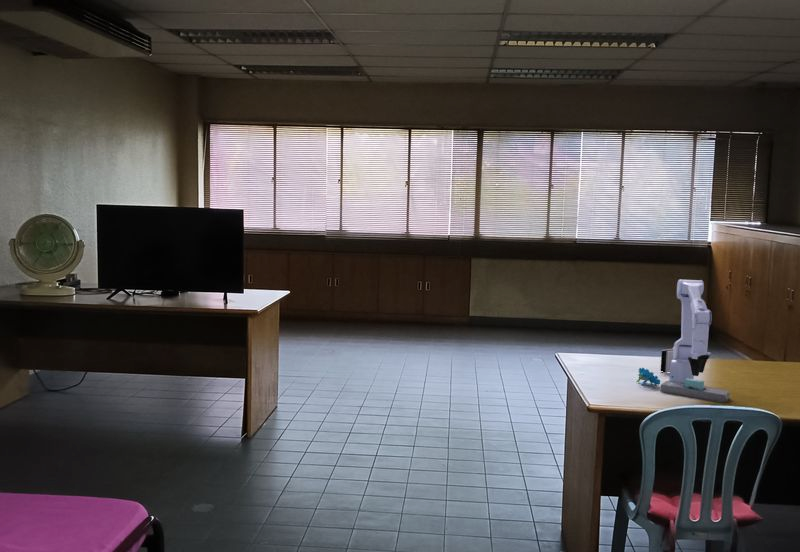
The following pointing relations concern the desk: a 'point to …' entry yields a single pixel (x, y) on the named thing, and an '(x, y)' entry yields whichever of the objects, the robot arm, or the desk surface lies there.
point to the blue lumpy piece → (647, 376)
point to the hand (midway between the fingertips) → (697, 373)
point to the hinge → (666, 359)
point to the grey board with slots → (695, 391)
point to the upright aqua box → (694, 383)
